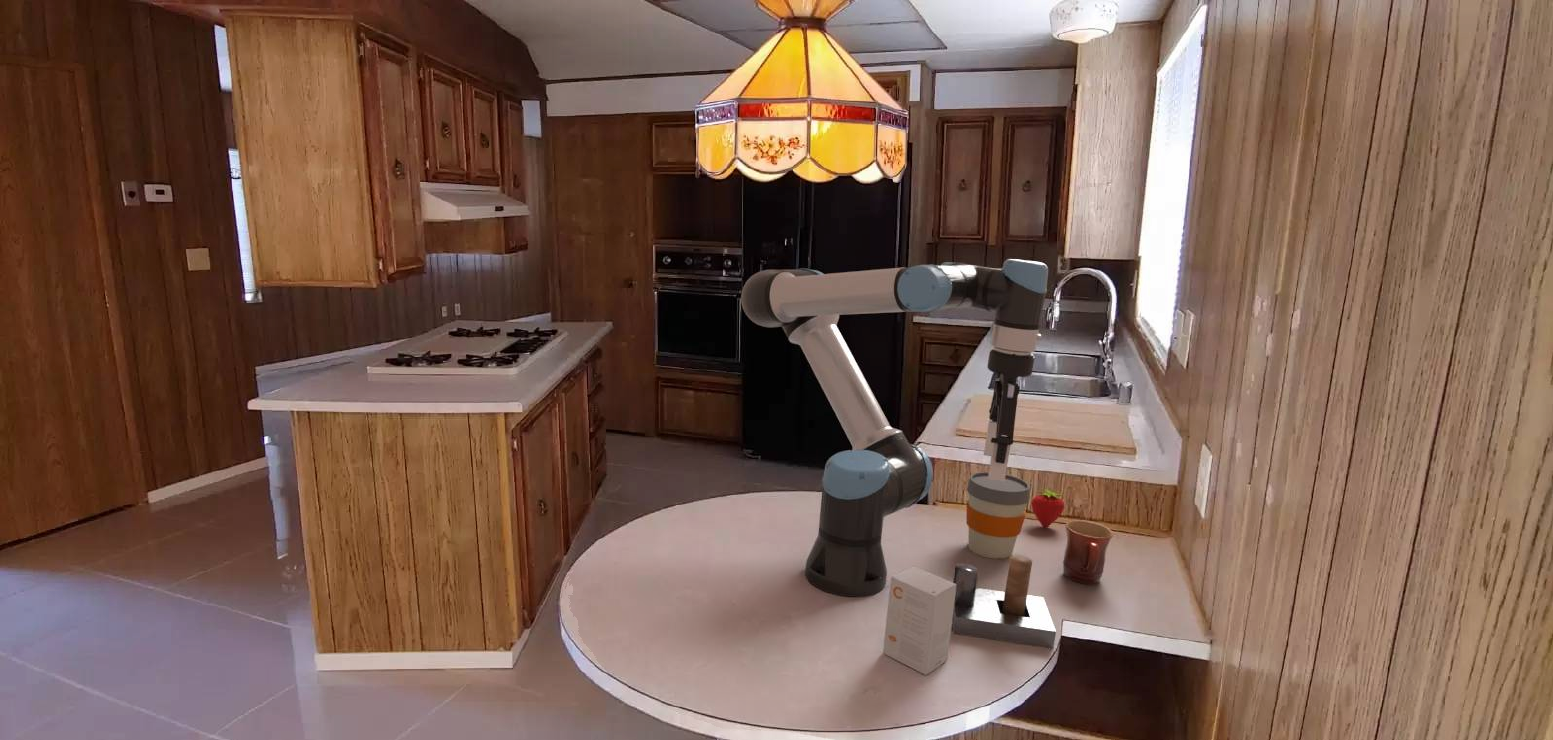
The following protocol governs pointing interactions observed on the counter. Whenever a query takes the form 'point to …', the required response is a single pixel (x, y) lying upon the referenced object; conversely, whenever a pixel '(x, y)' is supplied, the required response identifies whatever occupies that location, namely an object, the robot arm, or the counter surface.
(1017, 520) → the reusable coffee cup
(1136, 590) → the counter surface
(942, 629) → the small box
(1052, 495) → the strawberry
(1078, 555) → the mug
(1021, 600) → the wooden cylinder
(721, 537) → the counter surface
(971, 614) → the square hole fixture
